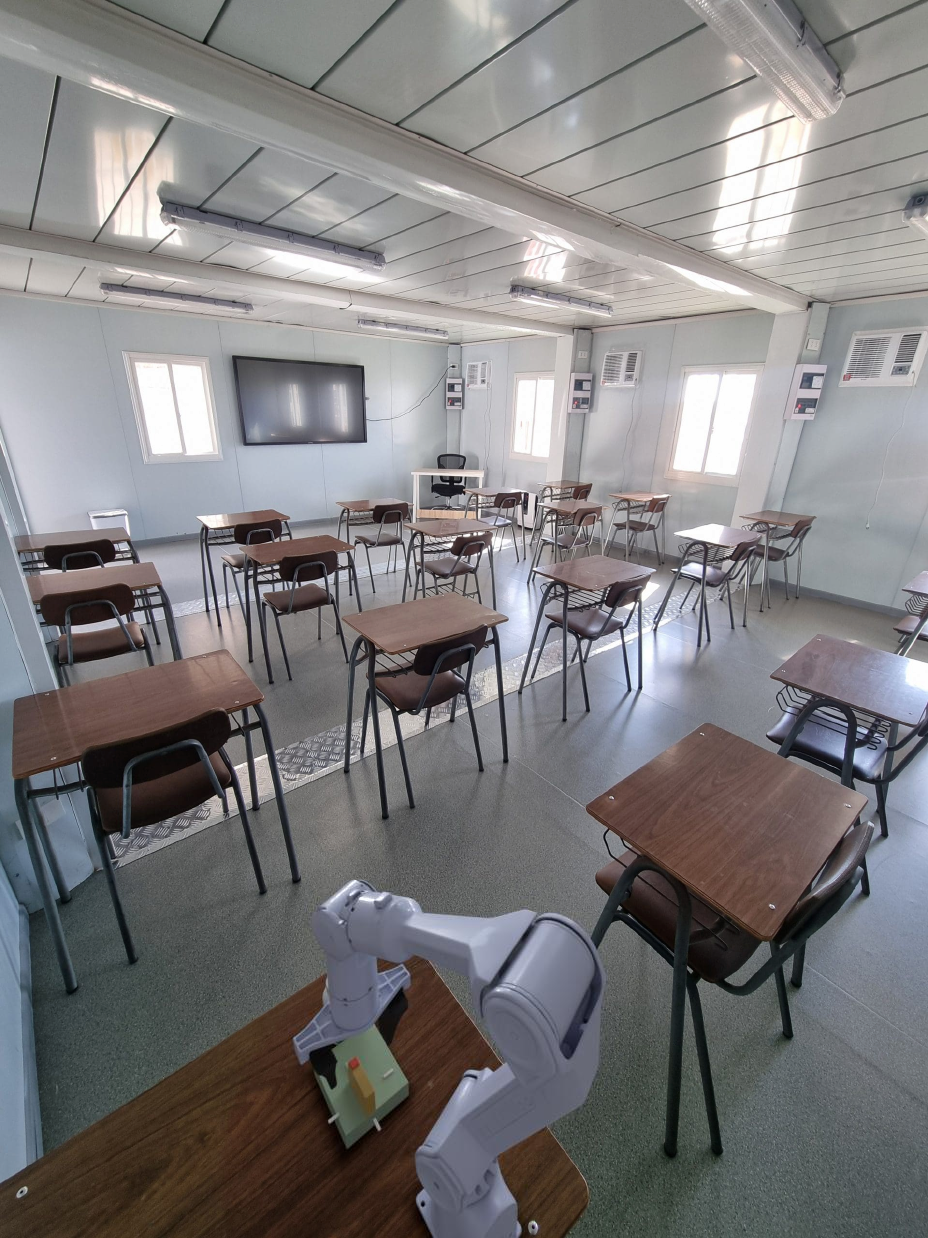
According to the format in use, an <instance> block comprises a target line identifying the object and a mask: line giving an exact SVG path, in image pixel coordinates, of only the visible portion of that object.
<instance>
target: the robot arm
mask: <svg viewBox="0 0 928 1238" xmlns="http://www.w3.org/2000/svg"><path fill="white" fill-rule="evenodd" d="M537 915H538V912H536V911H533V910H530V909H521V910H517V911H513V912H508V913H506V914H502V915H499V916H493V917H480V916H479V917H478V916H467V915H456V914H455V915H453V914H442V913H430V912H429V913H428V912H423V910H422V908H421V905H420V904H419V903H418V901H416V899H414V898H411V897H406V896H401V895H395V894H392V893H391V892H387V891H382V892H379V891H377V890H376V889H375V887H374V886H373V885H372V884H371V883H370V882H367V880H364V879H357V880H356V879H351V880H349V881H348V882H347V883H345V884H344V885H343V886H342V887H341V888H340V889H338V890H337V891H336V892H335V893H334V894H333V895H332V896H330V897H329V898H328V899H327V900H326V901H325V902H323V903H322V904H321V905H319V906H318V907H317V908H316V910H315V912H313V913H311V915H310V918H309V919H310V927H311V931H312V934H313V937H314V938H315V940H316V942H317V943H318V945H319V946H320V948H321V950H323V952H324V958H325V966H326V967H325V968H326V979H328V988H329V998H330V1000H329V1001H328V1003H327V1004H326V1005H325V1006H324V1007H323V1006H322V1008H321V1010H320V1011H319V1012H318V1013H317V1014H316V1015H315V1016H314V1017H313V1019H312V1020H311V1021H310V1022H309V1023H308V1024H307V1025H306V1026H305V1027H303V1028H302V1030H301V1031H300V1032H299V1033H298V1034H297V1035H295V1036H294V1037H293V1038H292V1041H293V1042H292V1043H293V1049H294V1050H293V1051H294V1053H295V1056H296V1058H297V1061H298V1062H299V1064H300V1065H301V1066H302V1065H304V1064H305V1063H306V1062H307V1061H310V1064H311V1066H312V1068H313V1071H314V1070H315V1072H316V1073H317V1074H318V1075H319V1076H323V1077H325V1078H326V1080H327V1082H328V1084H329V1087H330V1089H331V1090H332V1089H334V1088H335V1087H336V1086H337V1079H336V1064H337V1062H338V1061H337V1059H336V1057H335V1055H334V1053H333V1051H332V1049H333V1048H332V1044H333V1043H336V1042H339V1041H342V1040H345V1039H348V1038H351V1037H354V1036H357V1035H359V1034H362V1033H364V1032H365V1031H367V1030H368V1029H369V1028H371V1027H372V1026H373V1024H374V1025H375V1023H376V1022H378V1023H377V1024H378V1031H379V1033H380V1035H381V1036H382V1038H383V1040H384V1042H385V1043H386V1045H387V1047H389V1046H390V1045H391V1044H392V1043H393V1040H394V1036H395V1034H396V1030H397V1028H398V1025H399V1023H400V1021H401V1019H402V1018H403V1016H404V1015H405V1014H406V1012H407V1011H408V1010H409V999H408V997H407V995H406V994H405V992H404V991H406V990H407V989H409V988H410V987H411V985H412V984H411V974H410V972H409V971H408V970H407V968H406V967H405V965H404V964H403V963H405V962H407V961H408V960H410V959H411V958H412V957H413V956H417V957H419V958H421V959H423V960H426V961H428V962H430V963H432V964H436V965H437V966H440V967H442V968H445V969H447V970H449V971H452V972H454V973H456V974H458V975H461V976H463V977H466V978H467V979H468V981H469V989H470V999H471V1003H472V1007H473V1011H474V1013H475V1015H476V1017H477V1019H478V1020H479V1021H480V1022H482V1021H484V1025H485V1027H486V1030H487V1032H488V1034H489V1036H490V1039H491V1040H492V1041H493V1043H494V1044H495V1045H496V1047H497V1049H498V1051H499V1052H500V1054H501V1056H502V1057H503V1059H504V1061H505V1062H504V1063H503V1064H502V1065H501V1066H499V1067H498V1068H497V1069H496V1070H495V1071H493V1070H491V1069H490V1068H489V1067H485V1068H484V1069H482V1070H475V1069H467V1070H466V1071H465V1072H464V1073H463V1074H462V1077H461V1080H460V1083H459V1085H458V1086H457V1087H456V1089H455V1091H454V1092H453V1094H452V1096H451V1097H450V1099H449V1100H448V1102H447V1104H446V1105H445V1107H444V1108H443V1110H442V1112H441V1113H440V1116H439V1117H438V1119H437V1120H436V1122H435V1124H434V1125H433V1127H432V1128H431V1130H430V1131H429V1134H428V1135H427V1136H426V1138H425V1140H424V1142H423V1143H422V1145H420V1146H418V1148H417V1150H416V1152H415V1153H414V1163H415V1170H416V1171H415V1172H416V1175H417V1178H418V1180H419V1182H420V1184H421V1186H422V1187H423V1189H422V1190H421V1191H420V1192H419V1193H418V1194H417V1196H416V1197H415V1203H416V1207H417V1208H418V1210H419V1212H420V1214H421V1216H422V1218H423V1220H424V1222H425V1225H426V1226H427V1229H428V1230H429V1232H430V1235H431V1236H432V1238H520V1237H521V1236H522V1226H521V1223H519V1221H518V1212H519V1206H518V1203H517V1201H516V1199H515V1197H514V1196H513V1194H512V1193H511V1191H510V1189H509V1188H508V1186H507V1184H506V1182H505V1180H504V1177H503V1175H502V1172H501V1168H500V1164H499V1160H498V1156H500V1155H501V1154H503V1153H504V1152H506V1151H508V1150H510V1149H511V1148H513V1147H515V1146H516V1145H518V1144H520V1143H521V1142H523V1141H524V1140H526V1139H528V1138H529V1137H531V1136H533V1135H534V1134H536V1133H538V1132H540V1131H541V1130H543V1129H545V1128H546V1127H547V1126H550V1125H551V1124H554V1123H555V1122H556V1121H558V1120H560V1119H561V1118H563V1117H564V1116H566V1115H568V1114H569V1113H572V1112H573V1111H574V1110H576V1109H578V1108H579V1107H581V1106H583V1104H584V1103H585V1102H586V1100H587V1097H588V1095H589V1093H590V1090H591V1088H592V1085H593V1082H594V1080H595V1077H596V1074H597V1073H598V1069H599V1066H600V1053H601V1051H600V1049H601V1048H600V1047H601V1044H600V1043H601V1018H602V1017H601V1015H602V1004H603V999H604V994H605V991H606V990H605V989H606V984H607V979H608V976H607V973H606V971H605V967H604V966H603V963H602V960H601V957H600V955H599V952H598V950H597V947H596V946H595V943H594V942H593V940H592V939H591V938H590V936H589V935H588V934H587V932H586V931H585V930H584V929H583V928H582V927H581V926H580V925H579V924H577V923H576V922H575V921H573V920H572V919H570V918H568V917H567V916H564V915H563V914H559V913H554V912H546V913H542V914H540V915H539V916H537ZM536 916H537V918H536ZM534 919H535V920H534ZM533 921H534V922H533ZM377 959H380V960H384V961H388V962H391V963H393V964H399V965H398V966H396V967H394V968H392V969H388V970H385V971H383V972H379V973H378V960H377ZM333 1045H334V1044H333ZM422 1204H424V1206H422Z"/></svg>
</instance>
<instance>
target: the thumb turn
mask: <svg viewBox="0 0 928 1238" xmlns="http://www.w3.org/2000/svg"><path fill="white" fill-rule="evenodd" d="M347 1064H348V1075H349V1082H350V1084H351V1086H352V1088H353V1090H354V1092H355V1094H356V1096H357V1098H358V1101H359V1103H360V1105H361V1107H362V1109H363V1111H364V1113H365V1115H366V1117H368V1116H369V1115H370V1114H372V1113H373V1112H374V1111H375V1110H376V1104H375V1091H374V1089H373V1087H372V1085H371V1083H370V1081H369V1079H368V1077H367V1075H366V1073H365V1071H364V1070H363V1068H362V1066H361V1064H360V1062H359V1060H358V1058H357V1056H355V1057H354V1058H353V1059H351V1060H350V1061H349V1062H348V1063H347Z"/></svg>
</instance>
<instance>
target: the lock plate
mask: <svg viewBox="0 0 928 1238" xmlns="http://www.w3.org/2000/svg"><path fill="white" fill-rule="evenodd" d="M331 1049H332V1051H333V1053H334V1055H335V1057H336V1059H337V1061H338V1062H337V1064H336V1079H337V1086H336V1087H335V1088H334V1089H332V1090H331V1089H330V1087H329V1084H328V1082H327V1080H326V1078H325V1077H323V1076H319V1075H318V1074H317V1073H316V1072H315V1070H314V1069H313V1073H314V1077H315V1080H316V1081H317V1084H318V1086H319V1088H320V1091H321V1093H322V1094H323V1097H324V1100H325V1102H326V1104H327V1106H328V1109H329V1112H330V1114H331V1116H332V1117H330V1118H329V1119H328V1120H327V1122H328V1124H329V1125H331V1124H332V1123H333V1122H334V1123H335V1125H336V1127H337V1130H338V1132H339V1134H340V1137H341V1139H342V1141H343V1143H344V1145H345V1148H346V1149H349V1148H350V1147H352V1145H354V1144H355V1143H356V1142H357V1141H358V1140H360V1139H361V1138H362V1137H363V1136H364V1135H365V1134H366V1133H367V1132H369V1130H371V1129H372V1128H374V1126H375V1128H376V1129H377V1132H380V1131H381V1130H382V1128H381V1126H380V1123H379V1122H380V1121H381V1120H382V1119H384V1117H386V1116H387V1115H388V1114H389V1113H391V1112H392V1111H393V1110H394V1109H395V1108H396V1107H397V1106H398V1105H399V1104H401V1103H402V1102H403V1101H404V1100H405V1099H406V1098H408V1097H409V1095H410V1091H409V1090H410V1089H409V1086H410V1085H409V1081H408V1079H407V1077H406V1076H405V1074H404V1072H403V1071H402V1069H401V1067H400V1066H399V1064H398V1062H397V1061H396V1059H395V1057H394V1055H393V1054H392V1052H391V1050H390V1049H389V1046H387V1044H386V1043H385V1041H384V1039H383V1038H382V1036H381V1034H380V1031H379V1029H378V1028H377V1026H376V1024H375V1023H374V1024H373V1026H372V1027H371V1028H369V1029H368V1030H367V1031H365V1032H364V1033H362V1034H359V1035H357V1036H354V1037H351V1038H348V1039H345V1040H344V1041H343V1042H341V1043H340V1044H339V1045H336V1046H335V1047H333V1048H331ZM355 1056H357V1058H358V1060H359V1062H360V1064H361V1066H362V1068H363V1070H364V1071H365V1073H366V1075H367V1077H368V1079H369V1081H370V1083H371V1085H372V1087H373V1089H374V1091H375V1104H376V1110H375V1111H374V1112H373V1113H372V1114H370V1115H369V1116H368V1117H366V1115H365V1113H364V1111H363V1109H362V1107H361V1105H360V1103H359V1101H358V1098H357V1096H356V1094H355V1092H354V1090H353V1088H352V1086H351V1084H350V1082H349V1075H348V1064H347V1063H348V1062H349V1061H350V1060H351V1059H353V1058H354V1057H355Z"/></svg>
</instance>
